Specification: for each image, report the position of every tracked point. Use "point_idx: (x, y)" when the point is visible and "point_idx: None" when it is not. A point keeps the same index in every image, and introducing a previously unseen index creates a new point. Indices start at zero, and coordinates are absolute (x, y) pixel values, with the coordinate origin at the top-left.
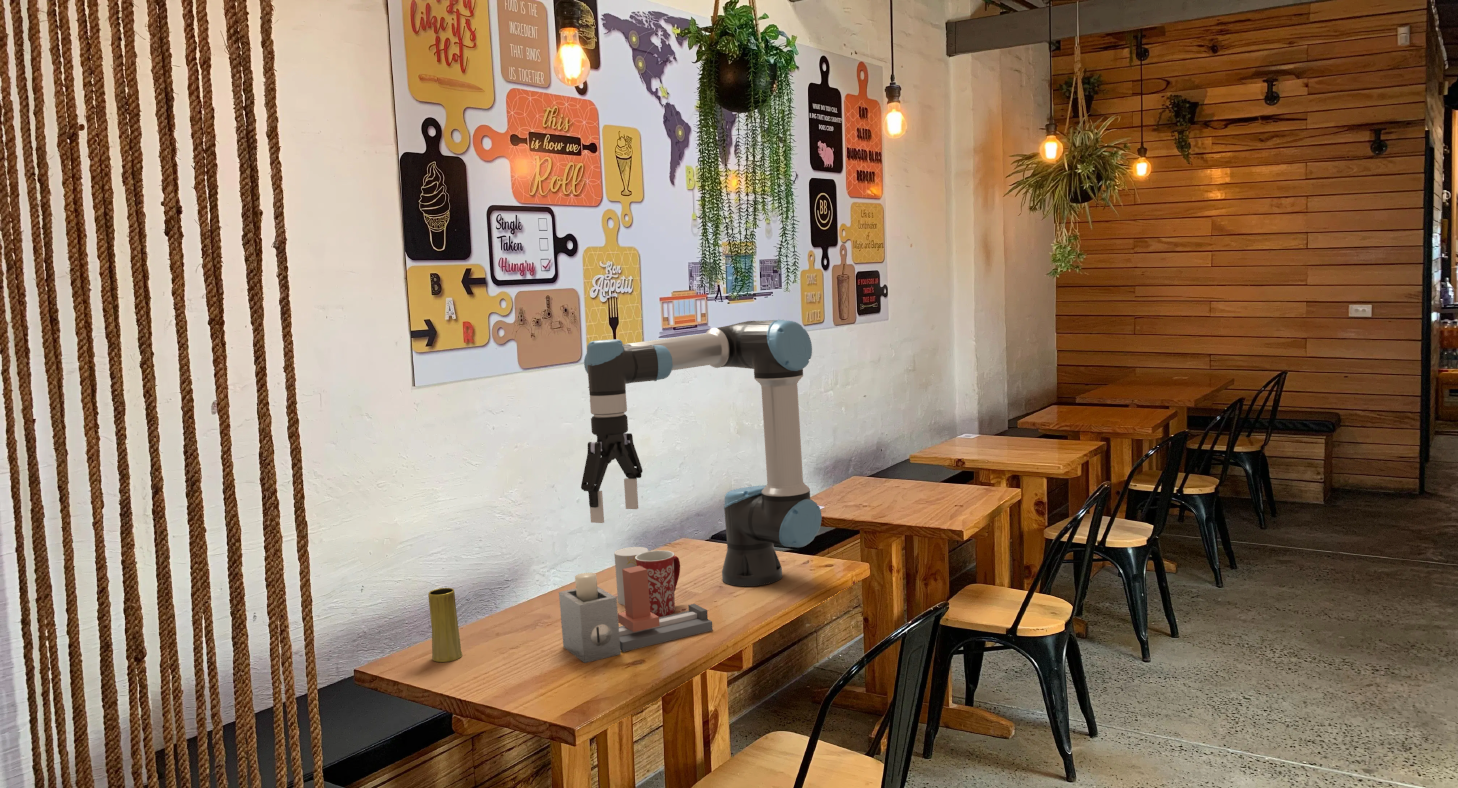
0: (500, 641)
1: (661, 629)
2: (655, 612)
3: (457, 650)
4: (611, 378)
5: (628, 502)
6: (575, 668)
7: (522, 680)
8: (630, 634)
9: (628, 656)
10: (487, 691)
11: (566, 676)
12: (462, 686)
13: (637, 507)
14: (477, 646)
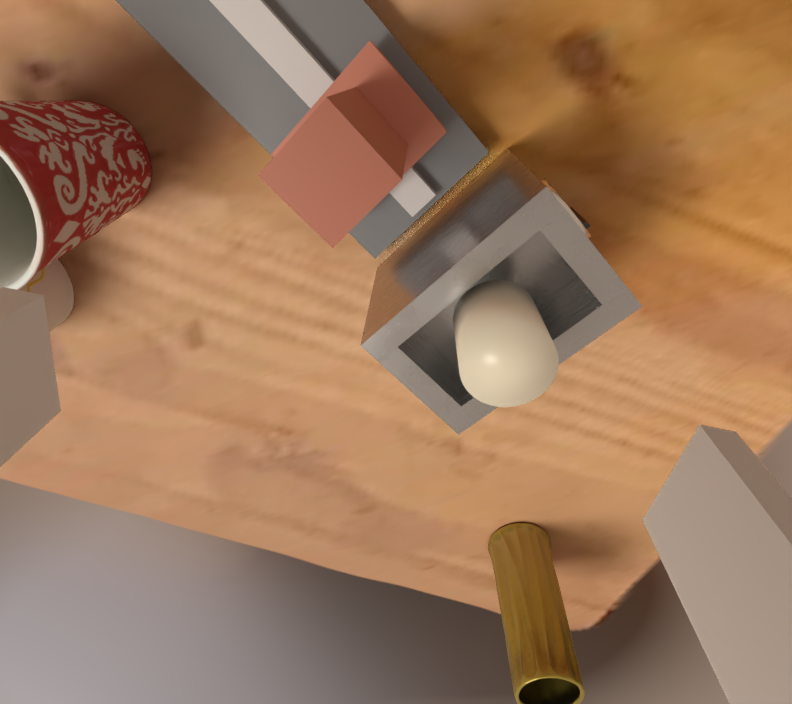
0: (414, 487)
1: (348, 46)
2: (142, 155)
3: (530, 538)
4: None
5: (7, 421)
6: (618, 246)
7: (689, 348)
8: None
9: (526, 113)
10: (750, 397)
11: (680, 248)
12: None
13: (10, 296)
14: (449, 517)
